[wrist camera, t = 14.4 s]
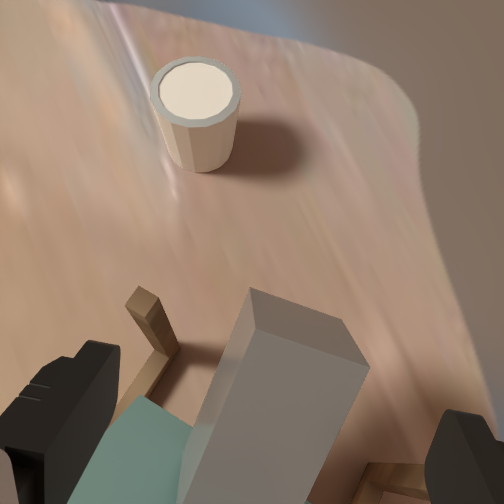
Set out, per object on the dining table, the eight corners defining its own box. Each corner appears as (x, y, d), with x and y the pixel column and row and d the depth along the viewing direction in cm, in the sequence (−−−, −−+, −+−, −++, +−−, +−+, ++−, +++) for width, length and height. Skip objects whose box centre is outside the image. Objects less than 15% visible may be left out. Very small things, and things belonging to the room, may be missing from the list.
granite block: (278, 557, 21) (370, 367, 19) (172, 528, 21) (255, 328, 18) (268, 478, 26) (341, 319, 24) (182, 452, 25) (249, 287, 23)
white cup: (253, 134, 42) (257, 77, 36) (213, 192, 40) (211, 141, 34) (188, 103, 44) (181, 42, 37) (145, 157, 41) (130, 101, 35)
